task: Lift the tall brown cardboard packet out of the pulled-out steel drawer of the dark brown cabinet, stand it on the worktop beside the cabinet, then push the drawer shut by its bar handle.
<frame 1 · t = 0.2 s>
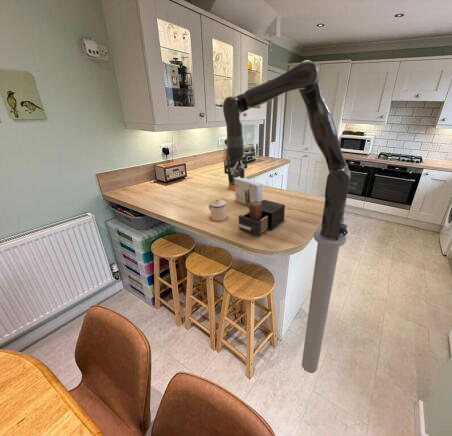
hand: (236, 179, 114), 25 cm above the table, tool pointing down, fingers open, 8 cm apart
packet: (255, 226, 119), point 2 cm above the table, touching drawer
whiskey bottle: (236, 188, 179), on the table
dark brown cabinet: (267, 222, 128), on the table
skincare box: (248, 204, 151), on the table
teacup with lid: (217, 217, 133), on the table
drawer: (253, 223, 116), point 5 cm above the table, slide at 9.0 cm, touching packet
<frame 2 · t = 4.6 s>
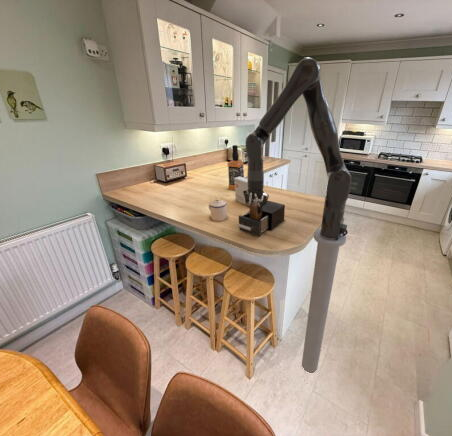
hand: (255, 211, 115), 10 cm above the table, tool pointing down, fingers closed on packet, 4 cm apart
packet: (255, 226, 119), point 2 cm above the table, touching drawer, gripper
everything else where it was.
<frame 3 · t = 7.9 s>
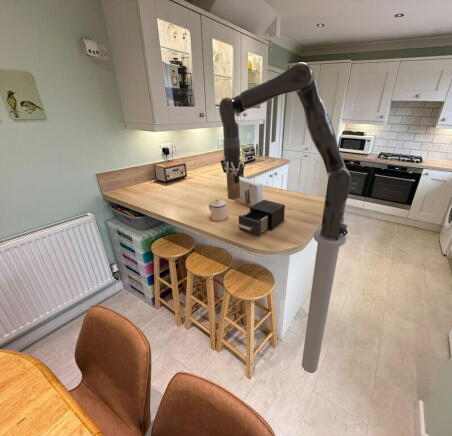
hand: (233, 182, 115), 24 cm above the table, tool pointing down, fingers closed on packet, 4 cm apart
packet: (234, 198, 119), point 15 cm above the table, touching gripper
drawer: (253, 223, 116), point 5 cm above the table, slide at 9.0 cm
everything else where it was.
when the fingers open (8 cm above the table, at t = 11.6 s): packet stays where it is, on the table.
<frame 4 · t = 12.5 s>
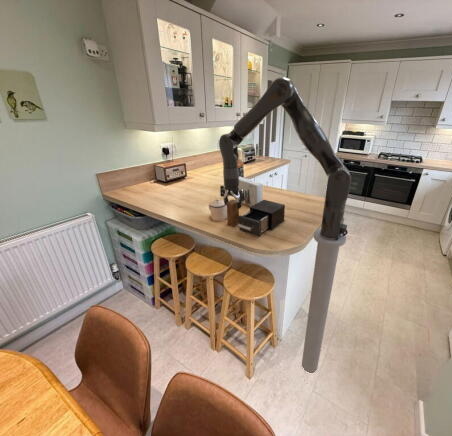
hand: (232, 206, 122), 10 cm above the table, tool pointing down, fingers open, 8 cm apart
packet: (233, 223, 126), on the table
everything else where it was.
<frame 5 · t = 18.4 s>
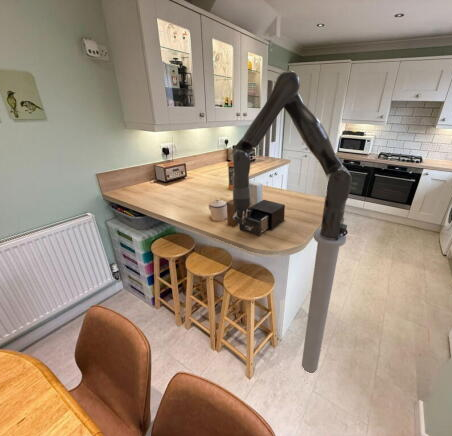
hand: (242, 230, 109), 5 cm above the table, tool pointing down, fingers closed
drawer: (254, 222, 117), point 5 cm above the table, slide at 8.7 cm, touching gripper
everything else where it was.
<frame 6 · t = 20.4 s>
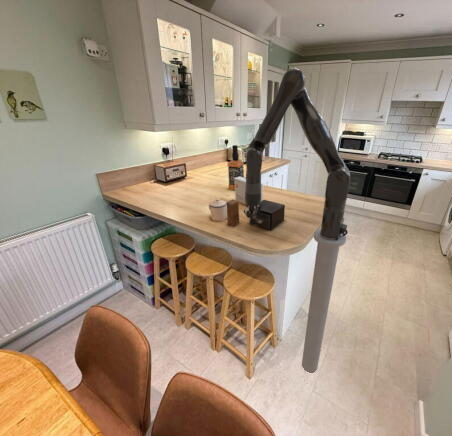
hand: (253, 224, 116), 5 cm above the table, tool pointing down, fingers closed
drawer: (263, 216, 123), point 5 cm above the table, slide at 0.0 cm, touching gripper, dark brown cabinet
everything else where it was.
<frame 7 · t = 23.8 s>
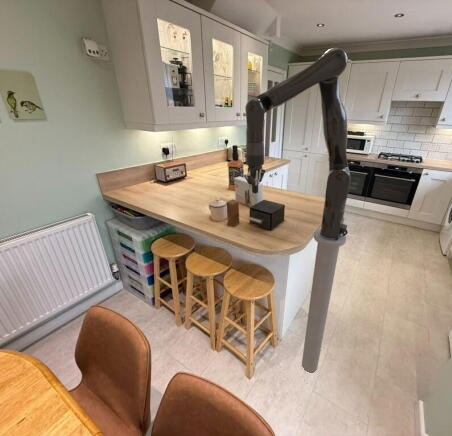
hand: (255, 192, 103), 23 cm above the table, tool pointing down, fingers closed
drawer: (263, 216, 123), point 5 cm above the table, slide at 0.0 cm, touching dark brown cabinet
everything else where it was.
at the end: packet inside the target area (0.0 cm from its centre), on the table; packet tilted 0°; drawer slide at 0.0 cm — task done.
